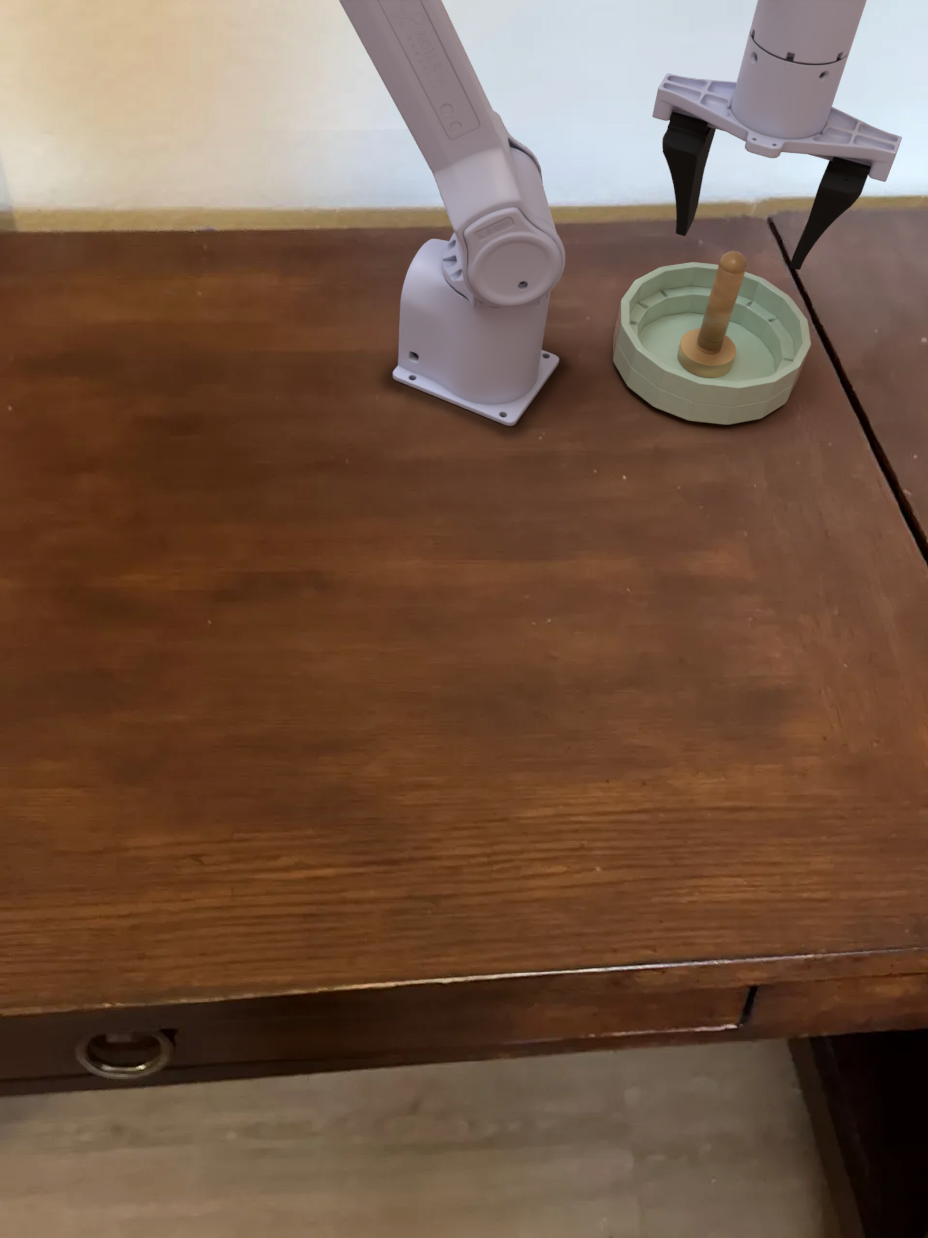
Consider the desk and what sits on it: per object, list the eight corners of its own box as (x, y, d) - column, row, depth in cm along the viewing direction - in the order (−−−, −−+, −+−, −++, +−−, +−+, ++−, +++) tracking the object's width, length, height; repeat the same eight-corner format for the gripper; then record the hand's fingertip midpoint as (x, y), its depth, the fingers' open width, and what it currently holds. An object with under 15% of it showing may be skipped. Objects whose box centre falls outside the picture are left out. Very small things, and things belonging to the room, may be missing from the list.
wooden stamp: (670, 367, 86) (698, 261, 79) (685, 334, 88) (714, 228, 81) (724, 384, 85) (758, 279, 78) (738, 351, 88) (772, 245, 81)
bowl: (582, 386, 85) (591, 341, 82) (651, 285, 93) (662, 241, 89) (759, 456, 82) (775, 412, 79) (816, 346, 90) (833, 302, 86)
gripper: (657, 37, 67) (616, 244, 78) (915, 106, 65) (836, 311, 76) (691, -16, 71) (648, 188, 82) (936, 47, 69) (858, 249, 80)
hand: (740, 243), depth 79 cm, fingers open, 7 cm apart
